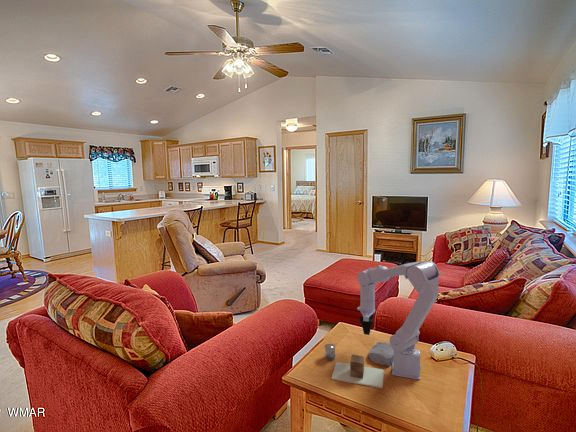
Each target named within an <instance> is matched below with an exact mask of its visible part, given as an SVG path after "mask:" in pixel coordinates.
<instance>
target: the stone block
mask: <svg viewBox="0 0 576 432" xmlns="http://www.w3.org/2000/svg"><path fill="white" fill-rule="evenodd" d="M368 358H369V360H370V361H372V362H374V363H375V364H378V365H379V364H381V365H384V366H386V367H392V362H394V350H393V348H392V347H391V345H390V342H386V341H381V342H379V341H378V342H376V343H375V344H374V345H373V346H372V347H371V348H370V350H369V351H368Z"/></svg>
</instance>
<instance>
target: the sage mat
mask: <svg viewBox="0 0 576 432" xmlns="http://www.w3.org/2000/svg"><path fill="white" fill-rule="evenodd" d="M384 374H385V370H384V369H382V368H375V367H370V366H369V367H368V366H364V375H363V379H362V378H356V377H351V376H350V363H346V362H345V363H344V362H338V361H336V362H335V364H334V368H333V371H332V375H331V378H330V379H331V380H334V381H338V382H344V383H349V384H350V383H351V384H355V385H360V386H361V385H362V386H365V387H366V386H367V387H373V388H377V389H383V388H384Z"/></svg>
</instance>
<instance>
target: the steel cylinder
mask: <svg viewBox="0 0 576 432" xmlns="http://www.w3.org/2000/svg"><path fill="white" fill-rule="evenodd" d="M324 354H325V355H324V356H325V360H327V361H331V362H332V361H334V360H336V346H335V344H334V343H326V344H325V345H324Z"/></svg>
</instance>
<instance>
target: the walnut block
mask: <svg viewBox="0 0 576 432" xmlns="http://www.w3.org/2000/svg"><path fill="white" fill-rule="evenodd" d="M349 362H350V363H349V364H350V376H351V377H356V378H362V379H363V375H364V367H365V356H363V355H359V354H351V357H350V361H349Z"/></svg>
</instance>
